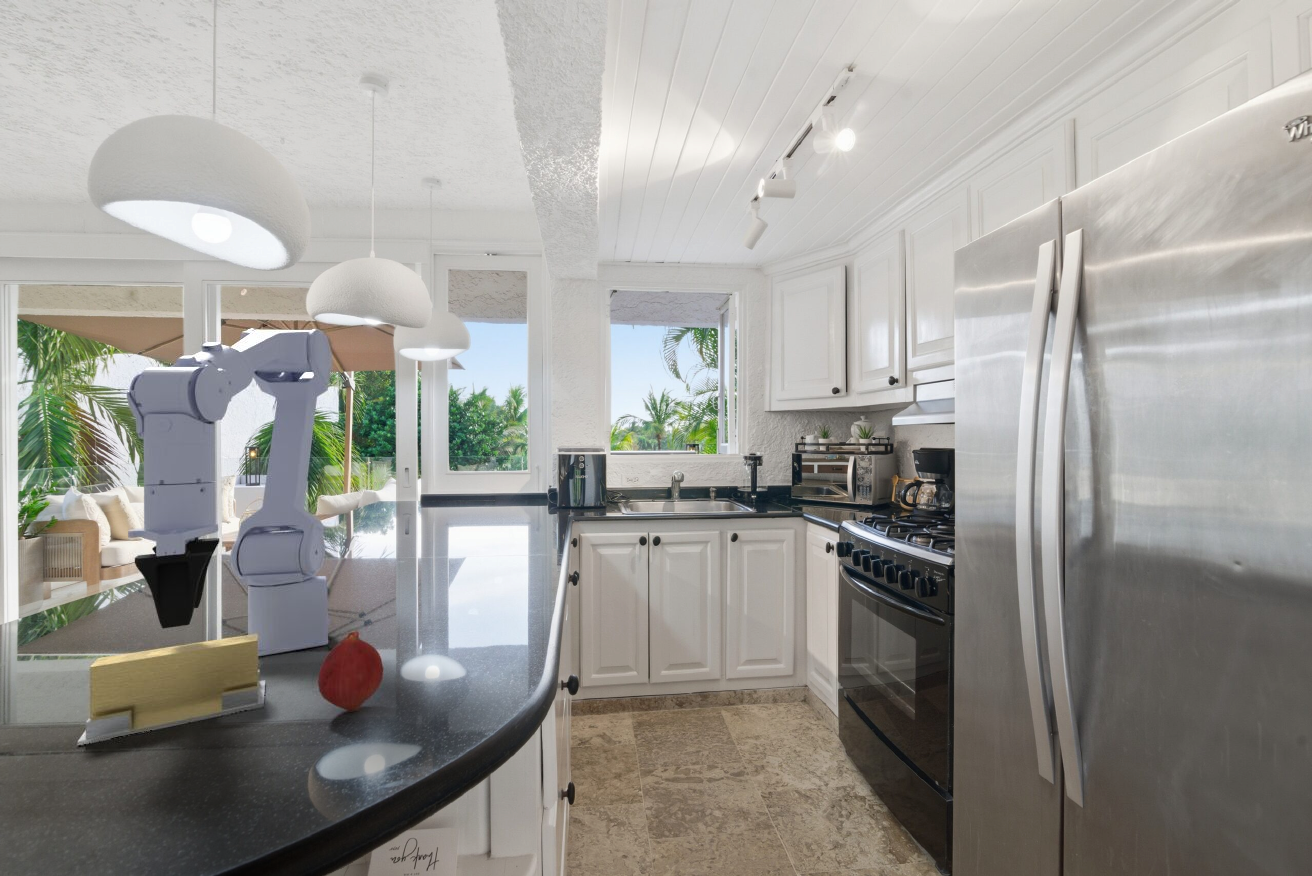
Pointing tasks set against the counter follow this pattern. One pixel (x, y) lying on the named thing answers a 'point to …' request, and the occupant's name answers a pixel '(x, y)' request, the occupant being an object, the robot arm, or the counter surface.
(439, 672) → the counter surface
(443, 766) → the counter surface
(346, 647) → the onion
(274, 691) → the counter surface
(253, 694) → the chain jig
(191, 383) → the robot arm
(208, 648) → the brass plaque on stand
